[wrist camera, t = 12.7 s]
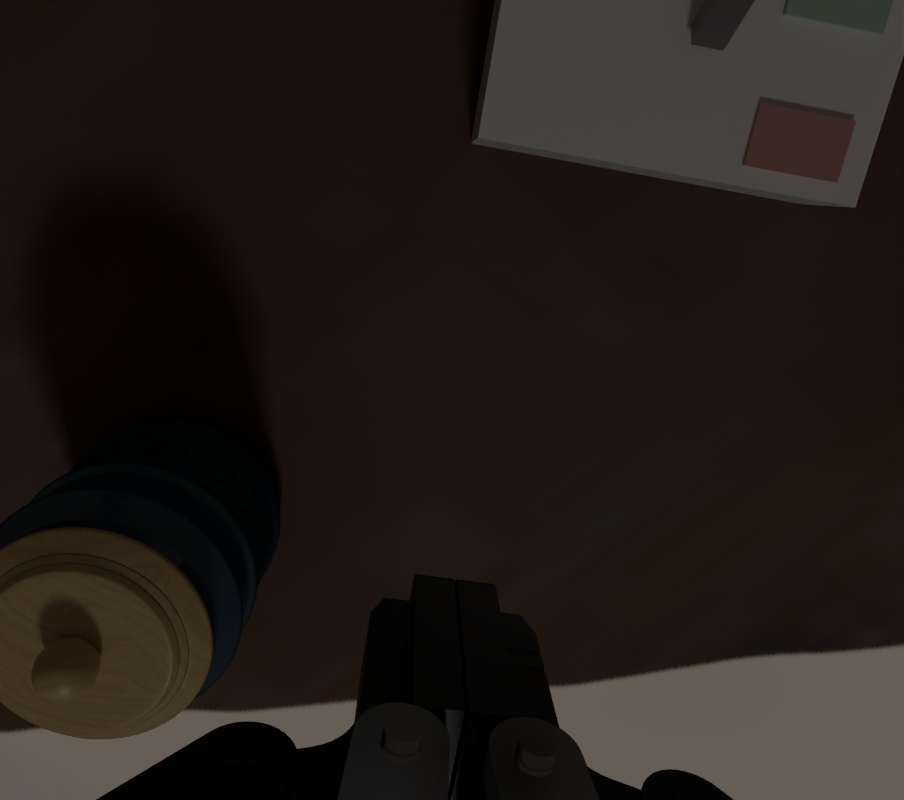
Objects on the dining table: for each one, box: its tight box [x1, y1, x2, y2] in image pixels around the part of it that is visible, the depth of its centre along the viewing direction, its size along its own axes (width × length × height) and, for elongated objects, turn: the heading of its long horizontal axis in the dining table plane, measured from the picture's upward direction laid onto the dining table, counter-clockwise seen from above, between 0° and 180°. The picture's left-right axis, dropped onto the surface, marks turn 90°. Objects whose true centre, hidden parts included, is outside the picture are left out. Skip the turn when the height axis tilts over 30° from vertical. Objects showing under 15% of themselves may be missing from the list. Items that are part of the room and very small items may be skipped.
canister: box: [0, 418, 280, 739], centre depth 39 cm, size 13×13×18 cm
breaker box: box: [471, 0, 904, 207], centre depth 38 cm, size 20×12×6 cm, turn 80°
